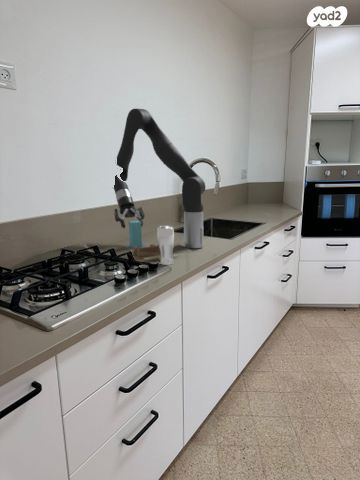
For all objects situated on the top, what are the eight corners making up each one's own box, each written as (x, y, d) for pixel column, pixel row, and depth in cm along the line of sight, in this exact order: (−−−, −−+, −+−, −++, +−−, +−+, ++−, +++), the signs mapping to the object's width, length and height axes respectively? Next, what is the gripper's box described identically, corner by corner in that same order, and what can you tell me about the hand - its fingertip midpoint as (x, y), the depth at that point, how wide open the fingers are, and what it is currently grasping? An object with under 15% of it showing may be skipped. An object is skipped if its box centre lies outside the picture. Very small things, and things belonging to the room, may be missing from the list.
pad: (122, 247, 166) (122, 245, 166) (142, 245, 171) (141, 243, 170) (129, 252, 158) (128, 250, 157) (149, 249, 162) (149, 247, 162)
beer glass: (168, 266, 136) (167, 229, 133) (154, 263, 140) (153, 227, 136) (177, 262, 142) (177, 226, 138) (163, 259, 145) (163, 224, 142)
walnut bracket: (124, 254, 154) (124, 243, 152) (157, 250, 160) (157, 240, 159) (136, 264, 140) (136, 252, 138) (172, 258, 146) (172, 247, 145)
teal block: (129, 246, 165) (128, 221, 162) (138, 245, 167) (137, 220, 164) (132, 248, 161) (131, 222, 158) (141, 247, 163) (141, 222, 160)
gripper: (112, 196, 166) (119, 223, 158) (140, 194, 172) (148, 220, 164) (109, 205, 172) (117, 232, 164) (136, 204, 178) (145, 229, 170)
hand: (133, 226), depth 164 cm, fingers open, 8 cm apart
